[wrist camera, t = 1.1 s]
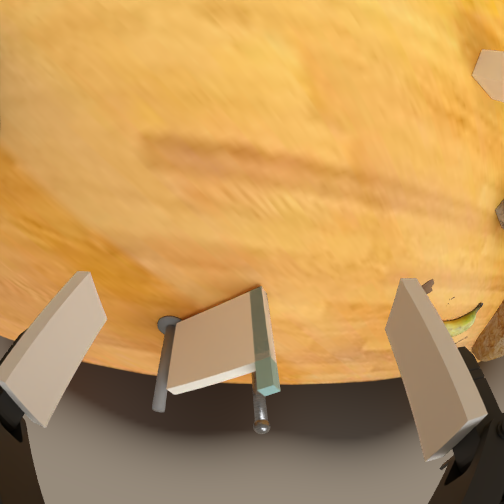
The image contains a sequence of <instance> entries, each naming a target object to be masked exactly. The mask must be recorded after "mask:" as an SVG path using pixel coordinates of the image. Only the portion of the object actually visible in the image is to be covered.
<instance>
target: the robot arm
mask: <svg viewBox="0 0 504 504" xmlns="http://www.w3.org/2000/svg"><path fill="white" fill-rule="evenodd" d="M106 320H107V317H106V315H105V312H104V310H103V307H102V304H101V302H100V299H99V296H98V293H97V291H96V288H95V285H94V282H93V279H92V276H91V273H90V272H86V271H77V272H76V273H75V274H74V275H73V277H72V278H71V279H70V280H69V281H68V282H67V283H66V284H65V285H64V286H63V288H62V289H61V290H60V291H59V292H58V293H57V294H56V296H55V297H54V298H53V299H52V300H51V301H50V302H49V304H48V305H47V306H46V307H45V308H44V310H43V311H42V312H41V313H40V314H39V316H38V317H37V318H36V319H35V320H34V322H33V323H32V324H31V325H30V327H29V328H28V329H26V330H25V331H24V332H23V333H21V334H20V335H19V336H18V338H17V339H16V340H15V342H14V343H13V345H12V346H11V347H10V348H9V350H8V352H6V354H5V355H4V357H3V358H2V359H1V361H0V504H45V503H44V500H43V497H42V494H41V490H40V486H39V483H38V480H37V475H36V472H35V467H34V463H33V459H32V454H31V449H30V444H29V439H28V433H27V427H26V422H25V420H24V419H23V415H24V413H25V414H26V415H27V416H28V417H29V418H30V420H31V421H32V422H34V423H36V424H38V425H40V426H42V427H45V428H46V426H47V424H48V422H49V420H50V418H51V416H52V414H53V412H54V410H55V408H56V406H57V404H58V402H59V401H60V399H61V397H62V395H63V393H64V391H65V389H66V388H67V386H68V384H69V382H70V380H71V379H72V377H73V375H74V373H75V371H76V370H77V368H78V366H79V365H80V363H81V361H82V359H83V358H84V356H85V354H86V353H87V351H88V349H89V348H90V346H91V344H92V343H93V341H94V339H95V338H96V336H97V335H98V333H99V331H100V330H101V328H102V327H103V325H104V323H105V322H106ZM385 331H386V334H387V336H388V339H389V342H390V345H391V347H392V350H393V353H394V356H395V359H396V362H397V365H398V368H399V371H400V374H401V377H402V380H403V383H404V386H405V389H406V392H407V395H408V399H409V402H410V406H411V409H412V413H413V416H414V419H415V423H416V427H417V431H418V434H419V438H420V443H421V447H422V451H423V455H424V459H425V461H430V460H433V459H436V458H440V457H443V456H445V455H446V454H447V453H448V452H449V451H450V450H451V449H453V452H454V456H452V457H451V458H450V459H449V460H447V461H446V462H445V463H444V464H443V465H442V466H441V468H440V469H441V470H442V469H443V468H445V467H446V466H447V468H446V470H445V473H444V475H443V477H442V479H441V481H440V483H439V485H438V487H437V488H436V490H435V492H434V494H433V496H432V498H431V499H430V501H429V503H428V504H504V413H502V412H501V411H500V409H499V407H498V404H497V402H496V400H495V398H494V395H493V393H492V391H491V389H490V387H489V385H488V383H487V380H486V379H485V378H484V374H483V372H482V370H481V369H480V367H479V365H478V363H477V361H476V359H475V357H474V355H473V354H472V353H471V352H470V351H469V350H468V349H467V348H466V347H465V346H464V347H459V348H457V346H456V345H455V343H454V341H453V339H452V337H451V335H450V333H449V332H448V330H447V328H446V326H445V325H444V323H443V321H442V319H441V318H440V316H439V314H438V312H437V311H436V309H435V307H434V306H433V304H432V302H431V301H430V299H429V297H428V296H427V294H426V293H425V291H424V289H423V288H422V286H421V285H420V283H419V282H418V280H417V279H416V278H401V279H400V282H399V286H398V289H397V293H396V296H395V299H394V303H393V306H392V309H391V312H390V315H389V318H388V322H387V324H386V327H385Z"/></svg>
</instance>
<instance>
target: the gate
mask: <svg viewBox="0 0 504 504" xmlns="http://www.w3.org/2000/svg"><path fill="white" fill-rule="evenodd" d="M254 371H256V380H257V390H258V391H259V392H260V393H261V394H263V395H264V396H267V395H270V394H273V393H276V392H279V391H280V384H279V377H278V370H277V362H276V355H275V348H274V341H273V334H272V327H271V320H270V313H269V306H268V299H267V293H266V292H265V291H264V289H263V288H262V286H260V287H258V288H256V289H254V290H251V291H249V292H247V293H245V294H243V295H240V296H238V297H236V298H234V299H231V300H229V301H227V302H225V303H222V304H220V305H218V306H215V307H213V308H211V309H209V310H206V311H204V312H202V313H199V314H197V315H195V316H192V317H190V318H188V319H185V320H183V321H181V322H178V323H177V324H176V327H175V326H173V325H167V327H166V331H165V336H164V341H163V347H162V352H161V357H160V363H159V369H158V374H157V380H156V386H155V393H154V399H153V406H152V409H153V410H154V411H157V412H164V411H165V403H166V395H167V390H168V391H170V392H171V393H173V394H179V393H183V392H187V391H191V390H194V389H198V388H202V387H205V386H209V385H212V384H216V383H219V382H223V381H226V380H229V379H232V378H236V377H239V376H242V375H245V374H248V373H251V372H254Z"/></svg>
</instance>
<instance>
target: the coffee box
mask: <svg viewBox="0 0 504 504" xmlns="http://www.w3.org/2000/svg"><path fill="white" fill-rule="evenodd" d="M495 211H496V214H497V216H498V219H499V221H500V224H501V227H502V228H503V229H504V200H503V201H502V203H501V204H500V205H499V206H498V207H497V209H496V210H495Z"/></svg>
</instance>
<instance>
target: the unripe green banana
mask: <svg viewBox="0 0 504 504" xmlns="http://www.w3.org/2000/svg"><path fill="white" fill-rule="evenodd" d="M433 284H434V281H433V279H432V280H430V281H428V282H427V283H426V284H424V285H423V286H422V288H423V289H424V291H425V293H426V294H428V293H430V292H431V291H432V288H431V287H432V286H433ZM453 298H454V297H453ZM449 300H450V299H449ZM448 304H449V303H448ZM482 305H483V303H481V304H478V306H477V307H476V308H475V309H474V310H473V311H471V312H469V313H468V314H466V315H464V316H462V317H460V318H458V319H454V320H450V321H443V323H444V325H445V326H446V328H447V330H448V332H449V333H450V335H451V337H453V336H457V335H459V334H461V333H463V332H465V331H466V330H467V329H469V328H470V327H471V326H472V324H473V323H474V321H475V318H476V313H477V311H478V310H479V309H480V308H481V307H482ZM466 338H467V337H466ZM464 339H465V338H464ZM462 340H463V339H462ZM460 341H461V340H460ZM458 342H459V341H458ZM458 342H457V343H458ZM455 344H456V343H455Z"/></svg>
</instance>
